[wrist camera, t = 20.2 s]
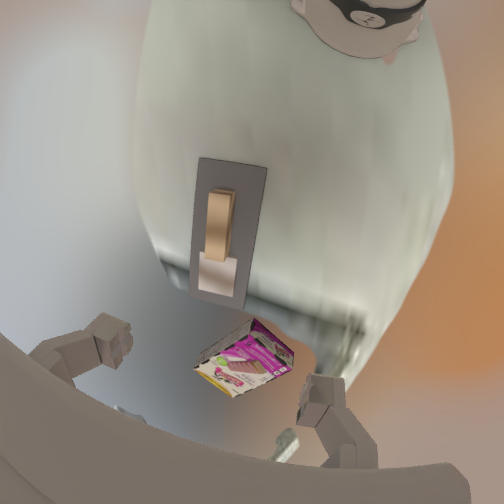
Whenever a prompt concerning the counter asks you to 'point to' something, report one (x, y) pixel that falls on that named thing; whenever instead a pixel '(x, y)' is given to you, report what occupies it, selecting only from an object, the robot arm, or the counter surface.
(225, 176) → the mat
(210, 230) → the wooden handled scraper
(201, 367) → the candy bar box
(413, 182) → the counter surface
